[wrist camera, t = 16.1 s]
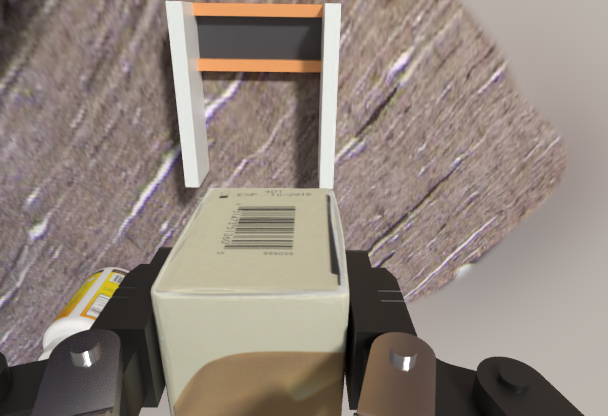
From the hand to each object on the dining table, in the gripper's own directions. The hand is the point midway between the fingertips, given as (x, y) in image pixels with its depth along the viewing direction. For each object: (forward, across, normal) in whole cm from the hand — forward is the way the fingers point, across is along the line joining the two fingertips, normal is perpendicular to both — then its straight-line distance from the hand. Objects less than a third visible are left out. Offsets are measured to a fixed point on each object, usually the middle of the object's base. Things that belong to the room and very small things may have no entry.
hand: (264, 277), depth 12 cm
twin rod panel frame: (+23, +2, -1) cm, 23 cm away
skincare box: (0, 0, -2) cm, 2 cm away
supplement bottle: (+23, +16, +17) cm, 33 cm away
